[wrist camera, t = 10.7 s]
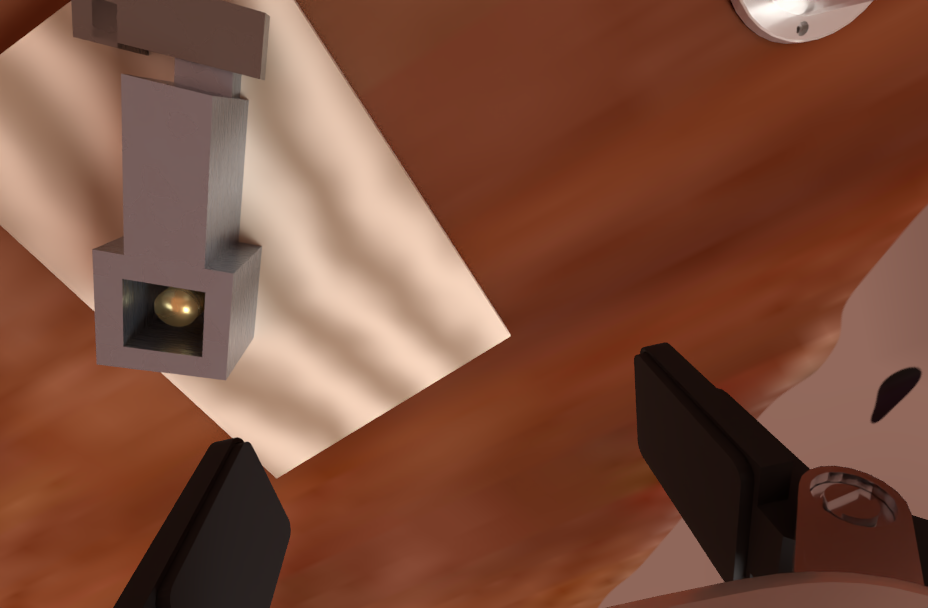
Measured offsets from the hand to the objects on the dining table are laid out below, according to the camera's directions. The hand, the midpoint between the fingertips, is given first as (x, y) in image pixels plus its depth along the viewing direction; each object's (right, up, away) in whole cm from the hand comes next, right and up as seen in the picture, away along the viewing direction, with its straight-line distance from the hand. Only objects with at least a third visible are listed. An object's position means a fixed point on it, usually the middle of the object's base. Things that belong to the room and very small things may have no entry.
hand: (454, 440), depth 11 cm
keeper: (-15, +20, +17) cm, 30 cm away
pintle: (-18, +5, +23) cm, 29 cm away
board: (-14, +8, +22) cm, 27 cm away
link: (-16, +11, +18) cm, 27 cm away
